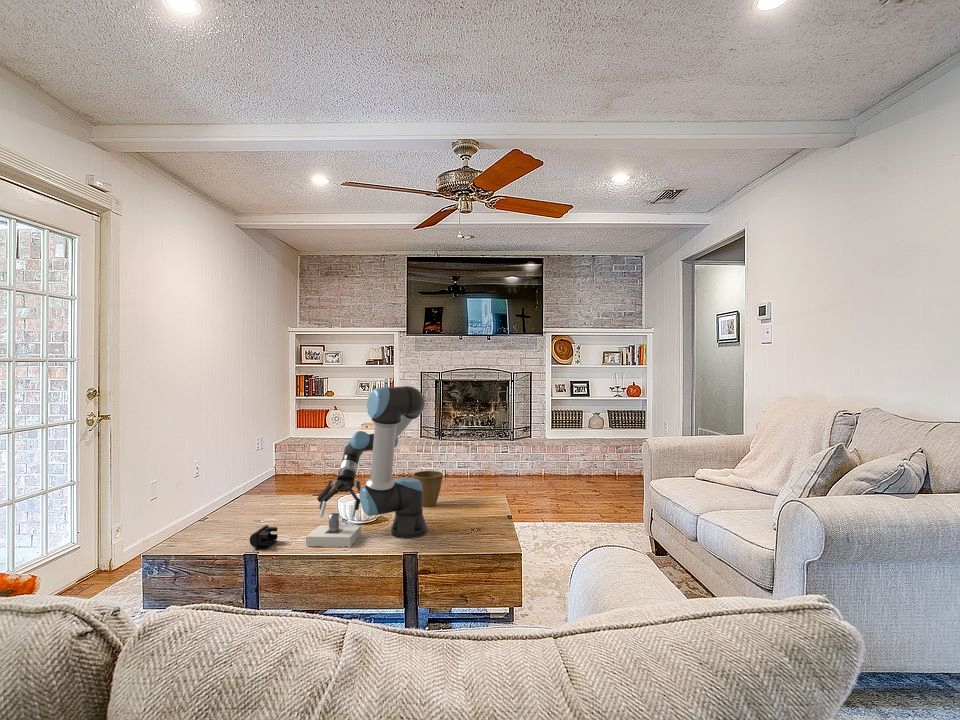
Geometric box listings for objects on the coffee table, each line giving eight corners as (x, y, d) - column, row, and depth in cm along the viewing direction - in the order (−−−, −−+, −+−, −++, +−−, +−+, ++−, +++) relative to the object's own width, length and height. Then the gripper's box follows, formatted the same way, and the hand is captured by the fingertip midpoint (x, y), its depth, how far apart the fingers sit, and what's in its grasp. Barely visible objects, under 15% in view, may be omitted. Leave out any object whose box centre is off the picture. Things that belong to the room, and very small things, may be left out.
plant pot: (410, 508, 264) (409, 476, 264) (418, 500, 279) (417, 470, 278) (439, 510, 261) (438, 477, 261) (446, 501, 276) (445, 470, 276)
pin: (340, 539, 221) (340, 512, 221) (337, 542, 217) (336, 515, 217) (331, 539, 222) (330, 512, 222) (327, 542, 218) (327, 515, 218)
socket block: (360, 535, 226) (360, 525, 226) (350, 547, 212) (350, 537, 212) (319, 534, 227) (319, 525, 227) (306, 546, 213) (306, 536, 213)
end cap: (261, 540, 221) (261, 524, 221) (278, 541, 220) (277, 524, 220) (249, 549, 211) (249, 532, 211) (266, 550, 210) (266, 532, 210)
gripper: (376, 477, 241) (367, 520, 226) (322, 477, 243) (310, 520, 228) (373, 468, 235) (364, 512, 221) (318, 468, 237) (305, 511, 222)
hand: (336, 516), depth 224 cm, fingers open, 13 cm apart
